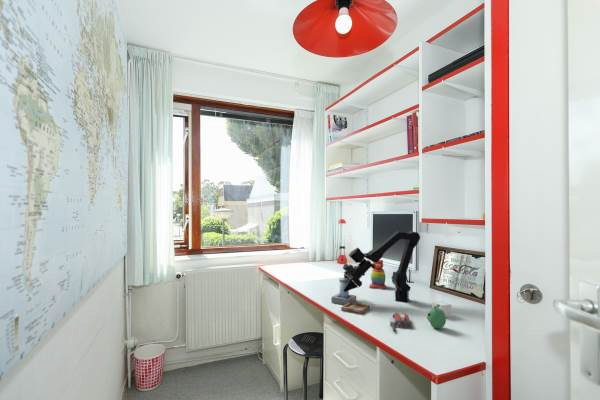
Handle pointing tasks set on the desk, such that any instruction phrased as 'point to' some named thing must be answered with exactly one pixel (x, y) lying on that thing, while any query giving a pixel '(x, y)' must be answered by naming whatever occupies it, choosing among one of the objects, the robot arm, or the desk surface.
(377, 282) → the stacking bear
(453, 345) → the desk surface
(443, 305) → the pale pink cube
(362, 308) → the tray
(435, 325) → the alien toy
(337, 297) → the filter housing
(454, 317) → the desk surface
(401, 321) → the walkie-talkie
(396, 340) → the desk surface
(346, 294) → the ball
